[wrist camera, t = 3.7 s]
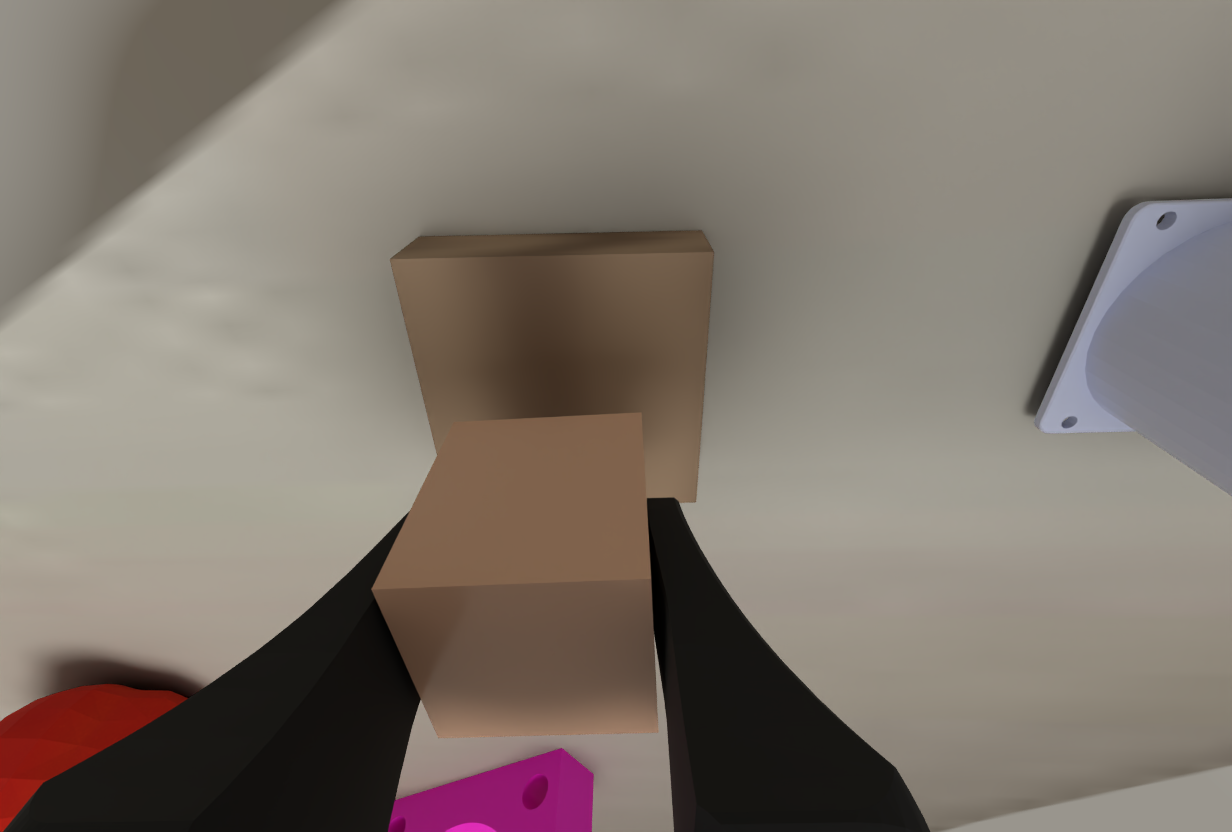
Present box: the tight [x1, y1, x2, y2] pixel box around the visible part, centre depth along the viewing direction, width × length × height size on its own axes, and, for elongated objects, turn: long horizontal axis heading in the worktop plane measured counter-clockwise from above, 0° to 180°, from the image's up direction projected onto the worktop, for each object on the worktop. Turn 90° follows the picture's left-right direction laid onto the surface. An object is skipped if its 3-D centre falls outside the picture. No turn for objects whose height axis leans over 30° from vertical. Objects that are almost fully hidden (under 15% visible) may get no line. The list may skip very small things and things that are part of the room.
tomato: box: [0, 684, 188, 832], centre depth 28 cm, size 11×12×9 cm
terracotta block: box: [371, 412, 658, 738], centre depth 12 cm, size 4×4×5 cm
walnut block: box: [390, 230, 714, 503], centre depth 19 cm, size 9×9×3 cm
